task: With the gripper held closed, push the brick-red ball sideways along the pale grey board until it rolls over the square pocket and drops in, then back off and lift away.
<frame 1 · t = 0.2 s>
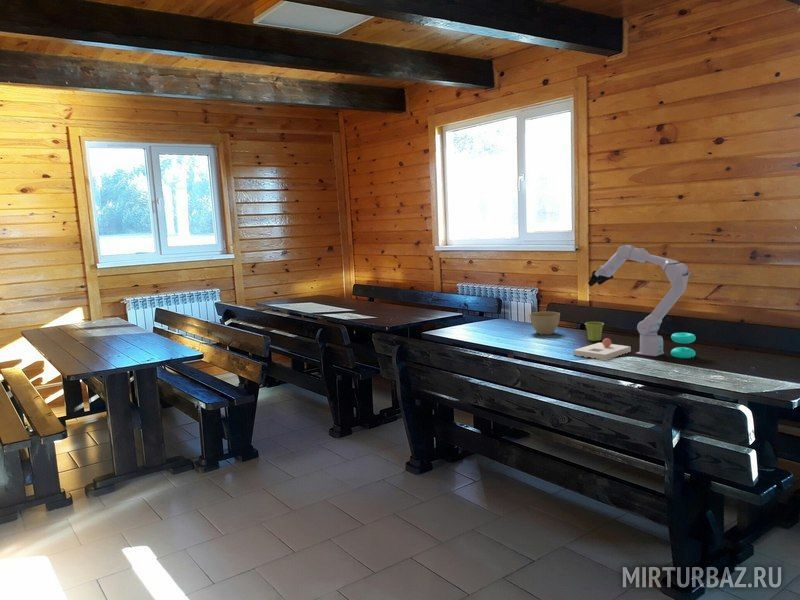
hand: (593, 284, 303), 30 cm above the table, tool tilted 45°, fingers open, 7 cm apart
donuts: (683, 356, 278), on the table
planter bowl: (545, 333, 346), on the table
plant pot: (594, 340, 322), on the table
ball: (606, 342, 292), point 4 cm above the table, touching deck
deck: (602, 353, 290), on the table
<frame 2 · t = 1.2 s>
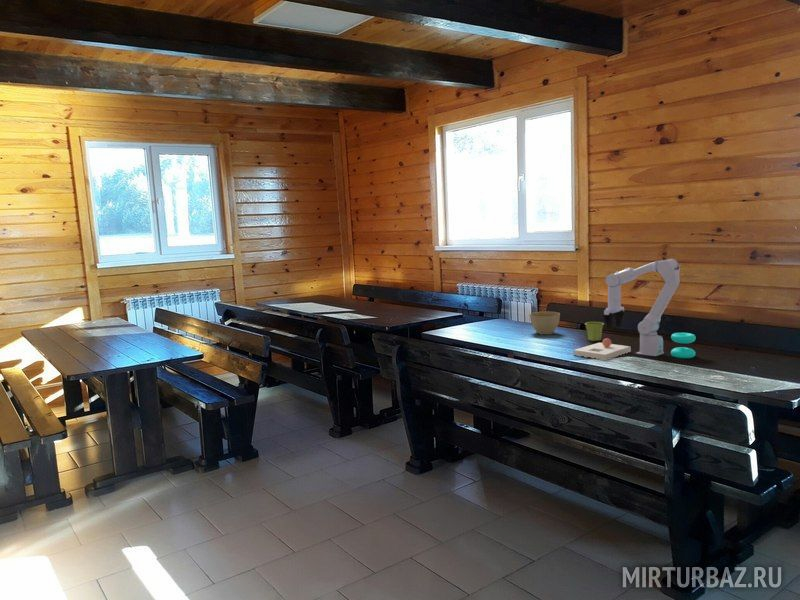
hand: (614, 328, 296), 10 cm above the table, tool pointing down, fingers open, 7 cm apart
nothing on the table moved.
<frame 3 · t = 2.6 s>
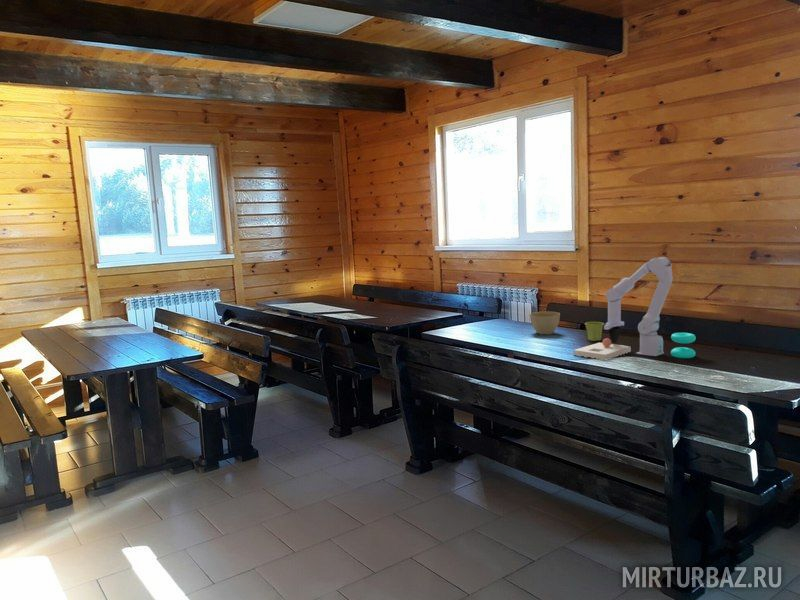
hand: (614, 342, 297), 3 cm above the table, tool pointing down, fingers closed
nothing on the table moved.
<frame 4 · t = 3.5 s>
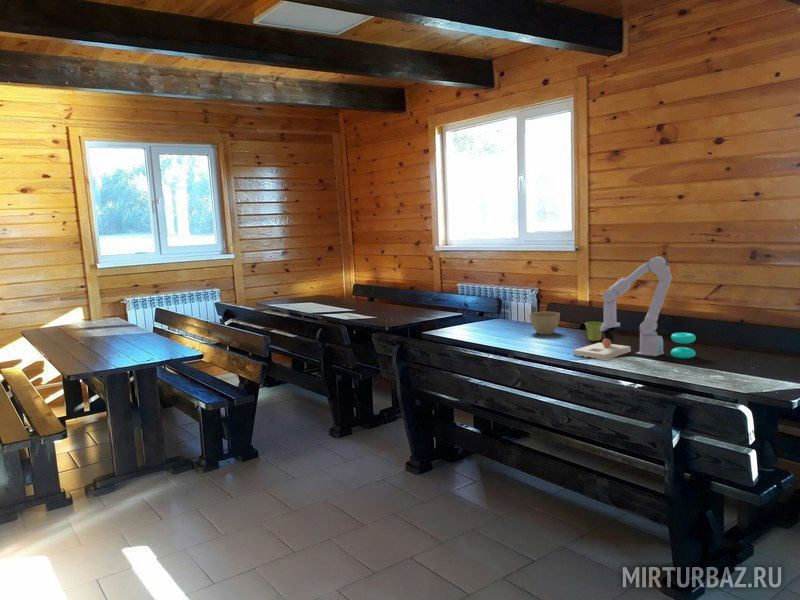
hand: (609, 343, 294), 3 cm above the table, tool pointing down, fingers closed, pressing on ball
ball: (606, 342, 292), point 4 cm above the table, touching deck, gripper
everything else where it was.
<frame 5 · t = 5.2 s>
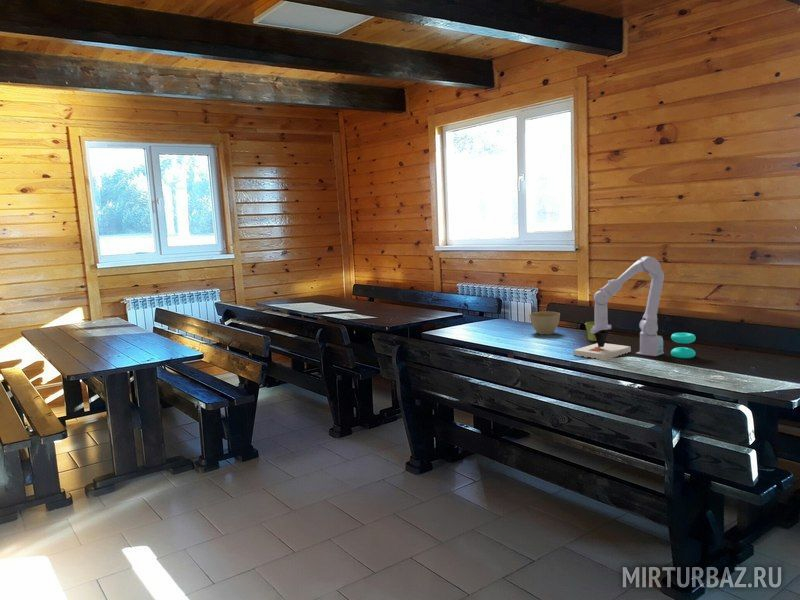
hand: (601, 346, 289), 3 cm above the table, tool pointing down, fingers closed
ball: (597, 350, 287), point 2 cm above the table, tilted 146°
everything else where it was.
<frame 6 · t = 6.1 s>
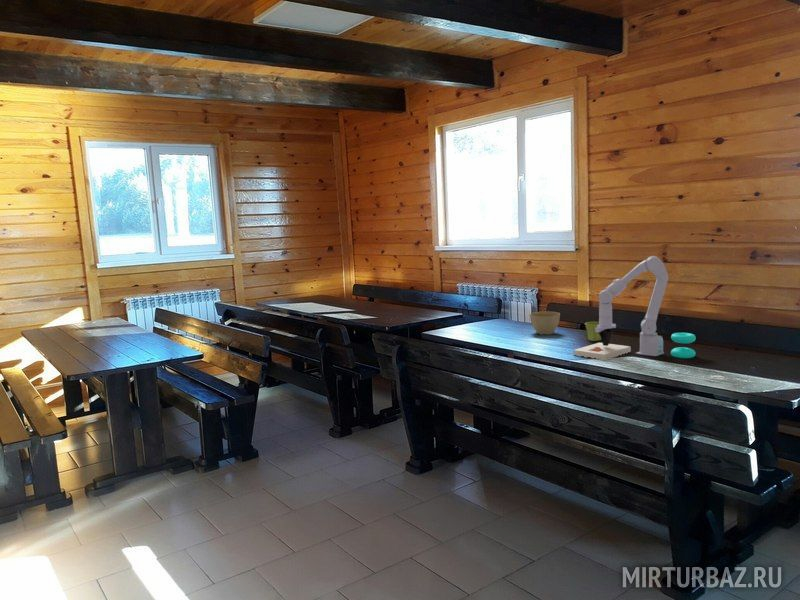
hand: (605, 345, 292), 3 cm above the table, tool pointing down, fingers closed
ball: (597, 351, 287), point 2 cm above the table, tilted 134°
everything else where it was.
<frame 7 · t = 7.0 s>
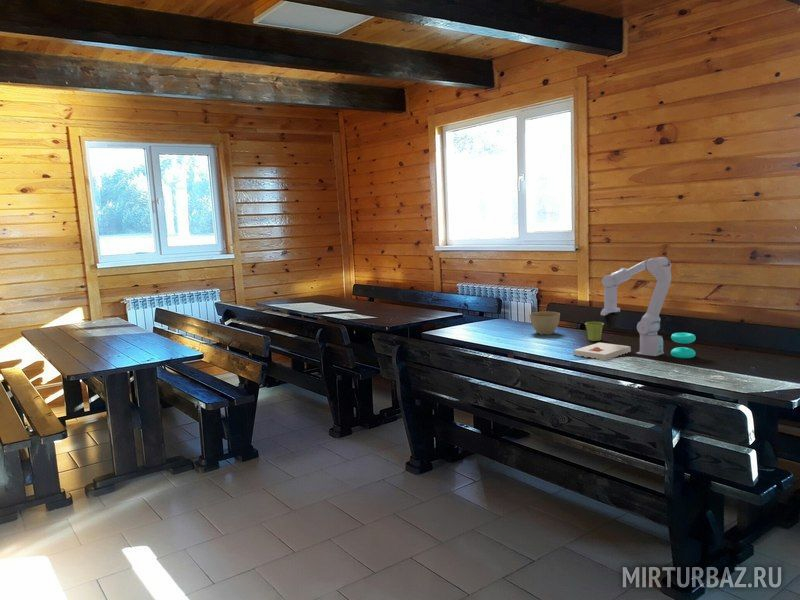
hand: (610, 328, 300), 9 cm above the table, tool pointing down, fingers closed
ball: (596, 351, 286), point 2 cm above the table, tilted 122°
everything else where it was.
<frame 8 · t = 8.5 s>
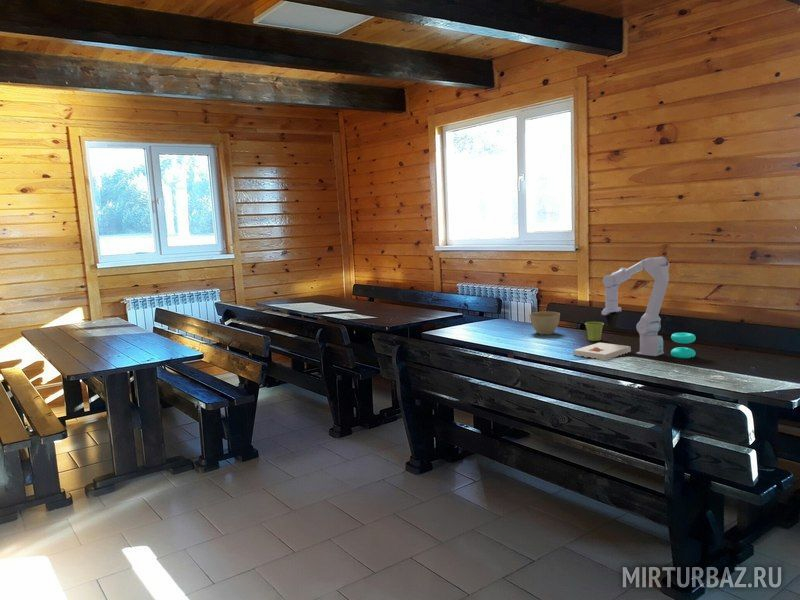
hand: (611, 328, 302), 9 cm above the table, tool pointing down, fingers closed
ball: (596, 351, 286), point 2 cm above the table, tilted 104°
everything else where it was.
at the end: ball 0.8 cm from the target spot on the deck, point 2.0 cm above the deck's base; ball moved 10.1 cm from its start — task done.
